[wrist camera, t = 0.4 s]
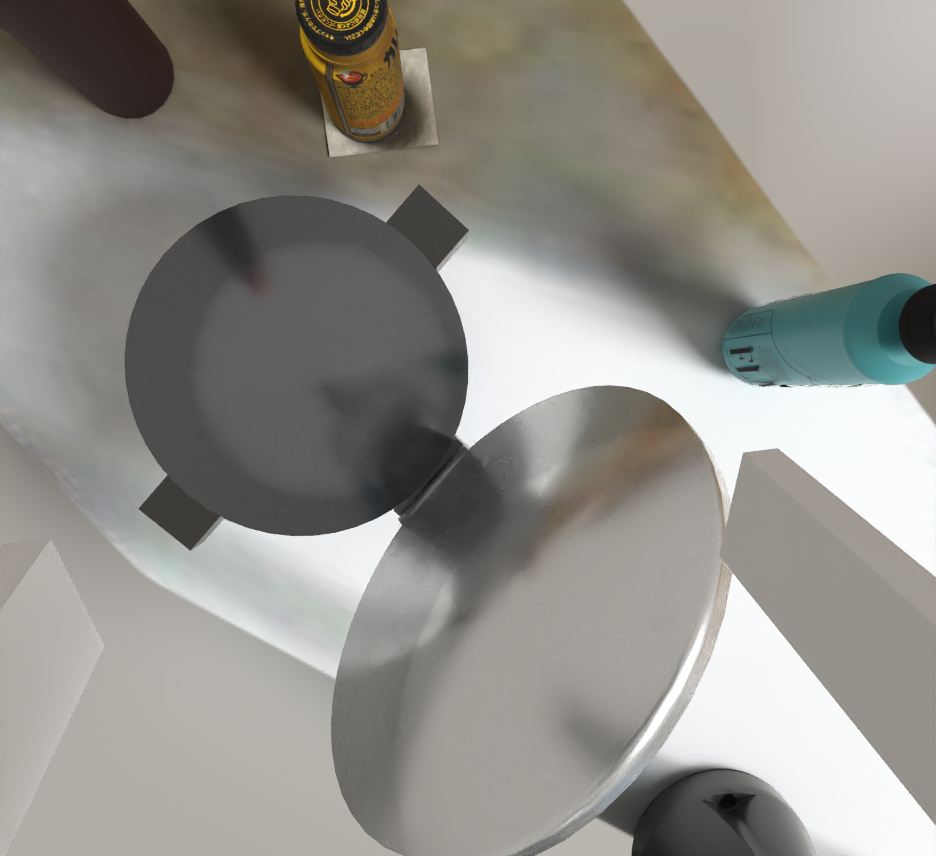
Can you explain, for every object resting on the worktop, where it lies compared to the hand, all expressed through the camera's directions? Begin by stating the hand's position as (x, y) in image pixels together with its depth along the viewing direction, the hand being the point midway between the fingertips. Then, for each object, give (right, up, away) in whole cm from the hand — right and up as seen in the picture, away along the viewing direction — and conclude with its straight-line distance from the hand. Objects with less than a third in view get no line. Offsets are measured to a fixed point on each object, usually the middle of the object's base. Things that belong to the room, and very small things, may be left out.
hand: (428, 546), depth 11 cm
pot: (-10, +7, +35) cm, 37 cm away
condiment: (-6, +28, +34) cm, 44 cm away
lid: (+1, -4, +14) cm, 15 cm away
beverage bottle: (+24, +9, +36) cm, 45 cm away
